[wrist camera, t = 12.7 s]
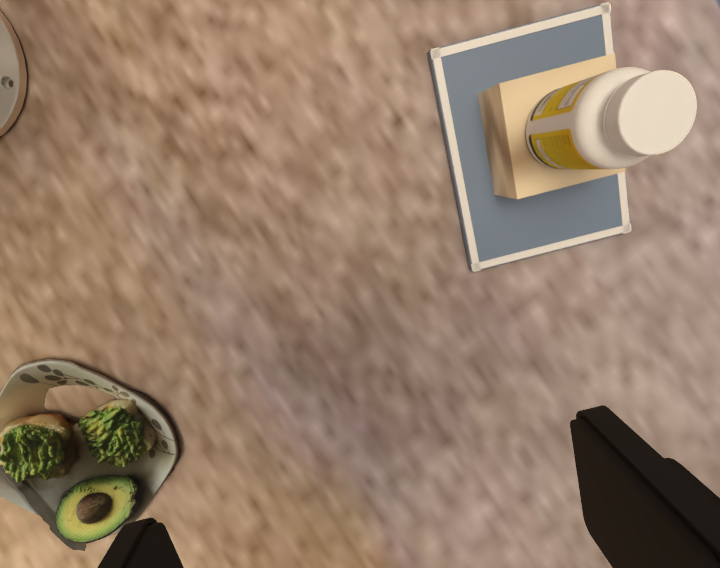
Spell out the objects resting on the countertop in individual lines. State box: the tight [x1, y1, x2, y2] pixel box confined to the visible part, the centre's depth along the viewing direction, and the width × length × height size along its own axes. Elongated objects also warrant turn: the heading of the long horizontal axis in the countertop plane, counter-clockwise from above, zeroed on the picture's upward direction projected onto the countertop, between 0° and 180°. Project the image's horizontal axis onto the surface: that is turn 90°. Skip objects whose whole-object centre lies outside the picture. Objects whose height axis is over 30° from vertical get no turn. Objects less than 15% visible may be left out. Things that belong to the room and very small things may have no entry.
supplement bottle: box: [526, 67, 697, 170], centre depth 27 cm, size 5×5×10 cm
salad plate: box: [0, 359, 181, 551], centre depth 41 cm, size 19×18×5 cm
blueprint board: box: [427, 2, 631, 272], centre depth 37 cm, size 18×14×1 cm
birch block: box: [477, 53, 626, 199], centre depth 34 cm, size 8×8×5 cm
